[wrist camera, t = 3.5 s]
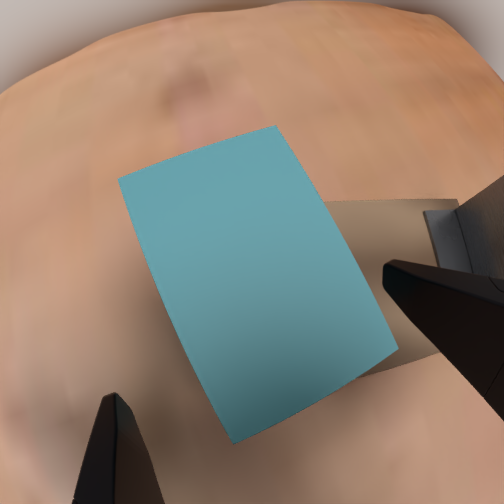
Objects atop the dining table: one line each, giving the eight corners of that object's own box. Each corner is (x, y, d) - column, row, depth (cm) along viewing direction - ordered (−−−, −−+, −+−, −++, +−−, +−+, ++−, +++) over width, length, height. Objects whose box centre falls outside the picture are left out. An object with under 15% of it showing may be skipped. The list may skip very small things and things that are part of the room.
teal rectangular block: (279, 353, 18) (398, 348, 6) (214, 384, 17) (232, 444, 5) (233, 260, 19) (275, 125, 8) (169, 287, 18) (117, 179, 7)
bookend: (481, 300, 19) (565, 271, 11) (447, 310, 18) (540, 282, 11) (458, 210, 21) (529, 160, 13) (422, 212, 20) (497, 153, 13)
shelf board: (476, 334, 20) (489, 331, 18) (320, 382, 17) (330, 384, 16) (446, 206, 23) (456, 199, 21) (291, 213, 20) (298, 203, 19)
